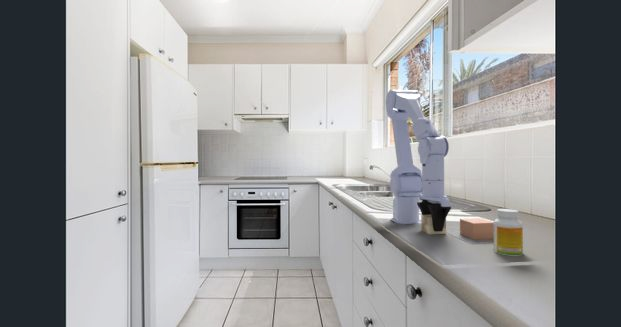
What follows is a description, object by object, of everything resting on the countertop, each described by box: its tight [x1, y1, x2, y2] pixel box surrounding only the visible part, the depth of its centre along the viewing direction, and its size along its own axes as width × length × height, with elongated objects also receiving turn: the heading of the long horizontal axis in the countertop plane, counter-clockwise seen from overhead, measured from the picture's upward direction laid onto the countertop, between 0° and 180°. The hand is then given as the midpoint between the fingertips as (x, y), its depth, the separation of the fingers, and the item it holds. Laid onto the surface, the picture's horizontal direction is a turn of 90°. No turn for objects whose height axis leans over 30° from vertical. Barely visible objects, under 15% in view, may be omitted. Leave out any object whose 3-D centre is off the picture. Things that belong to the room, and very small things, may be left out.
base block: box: [459, 217, 494, 239], centre depth 83 cm, size 6×6×4 cm
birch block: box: [420, 214, 447, 235], centre depth 88 cm, size 5×5×5 cm
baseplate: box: [446, 229, 494, 245], centre depth 83 cm, size 14×12×1 cm
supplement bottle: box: [493, 208, 524, 257], centre depth 69 cm, size 5×5×10 cm
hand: (433, 229), depth 88 cm, fingers closed on birch block, 5 cm apart
